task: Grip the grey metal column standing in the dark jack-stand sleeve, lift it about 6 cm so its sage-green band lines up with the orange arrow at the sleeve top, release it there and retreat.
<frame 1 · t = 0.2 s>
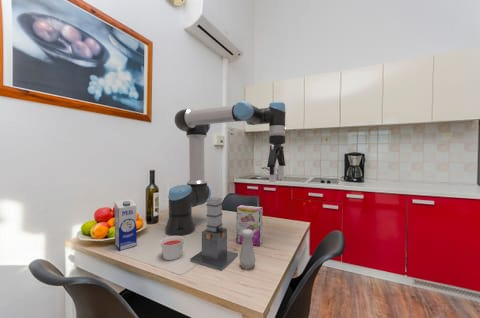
hand: (276, 180, 96), 28 cm above the table, fingers open, 13 cm apart
candle: (172, 256, 80), on the table
milk carton: (125, 246, 89), on the table
stand base: (214, 258, 78), on the table
candy bar box: (249, 243, 92), on the table
column: (214, 226, 78), point 12 cm above the table, slide at 0.0 cm
salt shaker: (247, 266, 73), on the table
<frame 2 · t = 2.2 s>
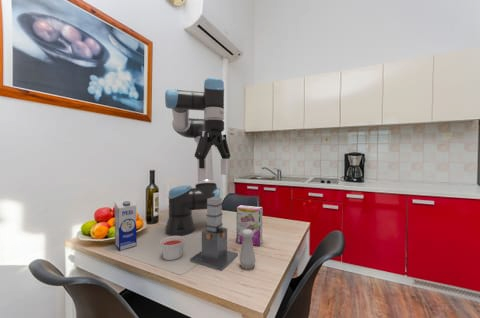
hand: (214, 176, 78), 32 cm above the table, fingers open, 13 cm apart
nothing on the table moved.
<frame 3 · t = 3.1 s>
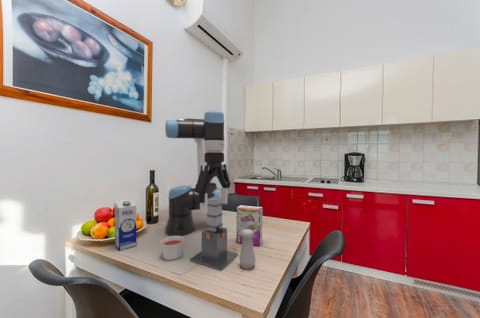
hand: (214, 207, 78), 20 cm above the table, fingers open, 13 cm apart
nothing on the table moved.
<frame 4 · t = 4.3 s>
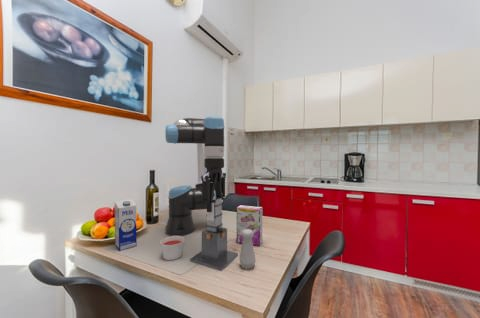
hand: (214, 218, 78), 16 cm above the table, fingers closed on column, 4 cm apart
column: (214, 226, 78), point 12 cm above the table, slide at 0.0 cm, touching gripper
everything else where it was.
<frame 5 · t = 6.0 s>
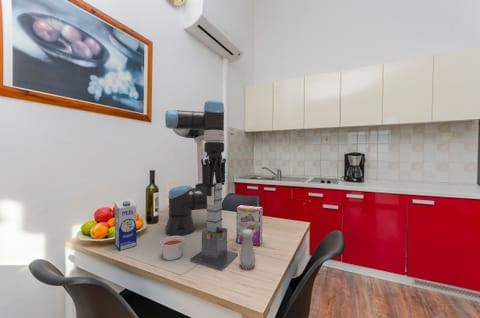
hand: (214, 202, 78), 22 cm above the table, fingers closed on column, 4 cm apart
column: (214, 211, 78), point 18 cm above the table, slide at 6.0 cm, touching gripper
everything else where it was.
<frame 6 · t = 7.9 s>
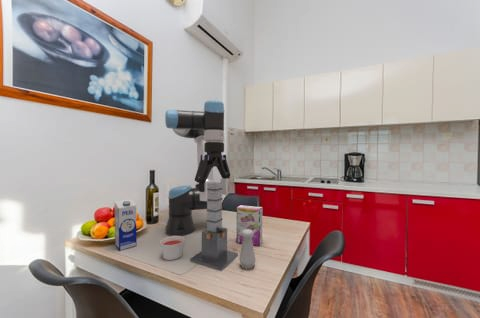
hand: (214, 197, 78), 24 cm above the table, fingers open, 13 cm apart
column: (214, 211, 78), point 18 cm above the table, slide at 6.0 cm
everything else where it was.
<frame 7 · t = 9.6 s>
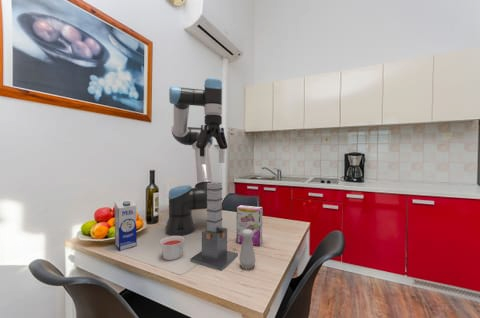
hand: (213, 163, 90), 36 cm above the table, fingers open, 13 cm apart
nothing on the table moved.
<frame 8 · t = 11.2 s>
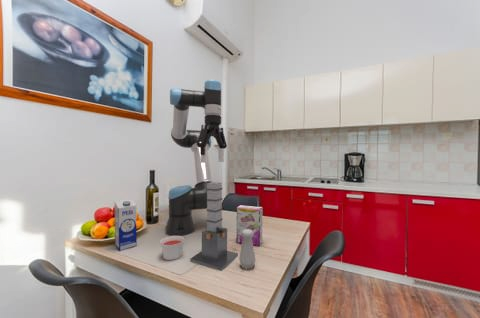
hand: (213, 162, 93), 37 cm above the table, fingers open, 13 cm apart
nothing on the table moved.
at the end: column slide at 6.0 cm; the gripper is holding nothing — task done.
